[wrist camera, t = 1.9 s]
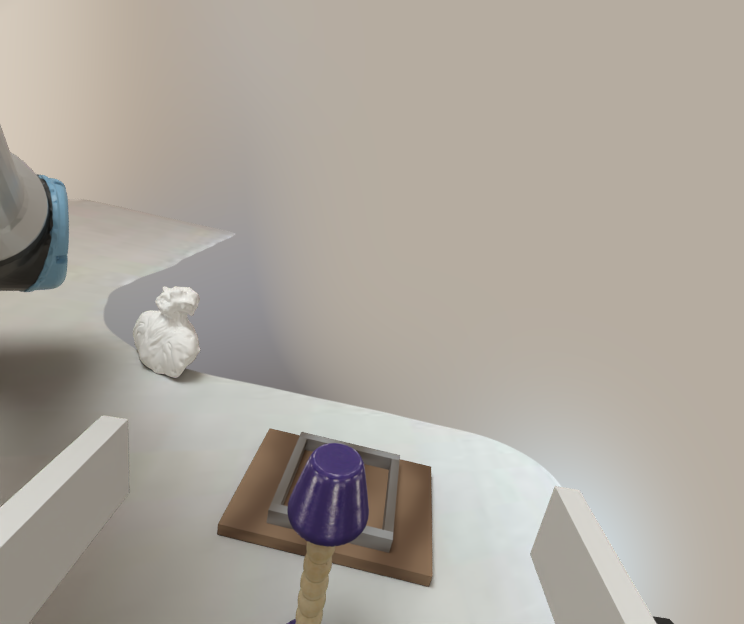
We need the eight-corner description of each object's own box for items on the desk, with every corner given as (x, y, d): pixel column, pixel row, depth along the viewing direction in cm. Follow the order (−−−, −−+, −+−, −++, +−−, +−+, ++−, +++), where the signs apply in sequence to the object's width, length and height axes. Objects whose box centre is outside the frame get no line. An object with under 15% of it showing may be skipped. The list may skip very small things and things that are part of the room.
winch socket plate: (217, 534, 37) (219, 510, 36) (268, 437, 49) (271, 417, 48) (428, 586, 37) (436, 563, 36) (428, 475, 49) (434, 455, 48)
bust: (194, 396, 57) (245, 321, 59) (148, 379, 50) (206, 297, 52) (146, 355, 63) (193, 289, 65) (99, 336, 57) (153, 264, 59)
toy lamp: (249, 657, 29) (277, 460, 23) (294, 602, 33) (329, 420, 27) (305, 709, 27) (353, 509, 21) (347, 644, 31) (398, 459, 25)
